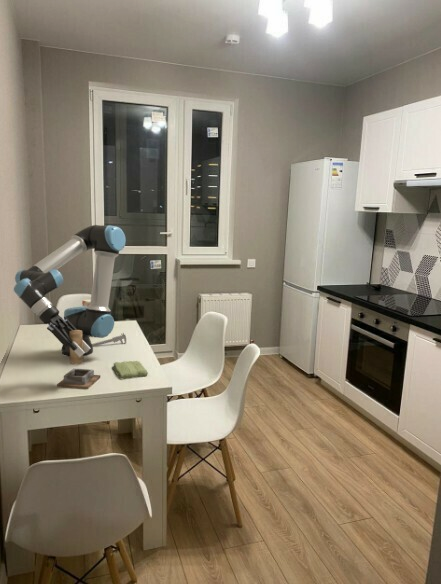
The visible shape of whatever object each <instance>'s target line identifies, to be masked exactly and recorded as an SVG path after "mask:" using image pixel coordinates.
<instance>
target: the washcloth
mask: <svg viewBox="0 0 441 584" xmlns="http://www.w3.org/2000/svg"><path fill="white" fill-rule="evenodd" d="M112 369H113V371H114V372H115V373H116V374H117V376H118V378H120V379H121V380H123V379H131V378H138V377H146V376H148V371H147V369H146V368H145V367H144V365H142V363H141V361H139V360H132V361H131V360H127V361H126V360H123V361H121V362H118V361H114V362H113V366H112Z"/></svg>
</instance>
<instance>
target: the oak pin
mask: <svg viewBox="0 0 441 584" xmlns="http://www.w3.org/2000/svg"><path fill="white" fill-rule="evenodd" d="M69 337H70V339H71V340H72V342H73V341H75V342H76V344H77V345H78V346H79V347H80V348H81V349H82V350H83V341H82V331H81V330H72V331H69ZM69 363H70V364H72V365H79V364H83V363H84V356H83V355H82V356H81V357H79V356H78V355H77V354H76V353H75V352H74V351H73V350H72V349H71V348H70V356H69Z"/></svg>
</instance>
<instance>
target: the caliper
mask: <svg viewBox="0 0 441 584" xmlns="http://www.w3.org/2000/svg"><path fill="white" fill-rule="evenodd" d="M120 334H121V335H118V336H113V337H112V338H109V339H105V340H101V341H97V342H95V343H92V346H93V348H95V347H97V346H101V345H105V344H108V343H118V342H120V343H121V344H122V345H123V344H127V336H126V334H125V333H124V332H122V333H120ZM123 340H124V342H123Z"/></svg>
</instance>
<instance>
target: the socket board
mask: <svg viewBox="0 0 441 584" xmlns="http://www.w3.org/2000/svg"><path fill="white" fill-rule="evenodd" d="M100 378H101V374H95V371H94V369H89V368H87V369H86V368H72V369H71V370H70V371H68V372H67V373H65V374H63V379H62V380H61V381H59V382H58V383H57V384H56V387H58V388H69V389H79V390H88V389H89V388H91V387H92V386H93V385H94V384H95V383H96V382H97V381H98V380H100Z"/></svg>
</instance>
